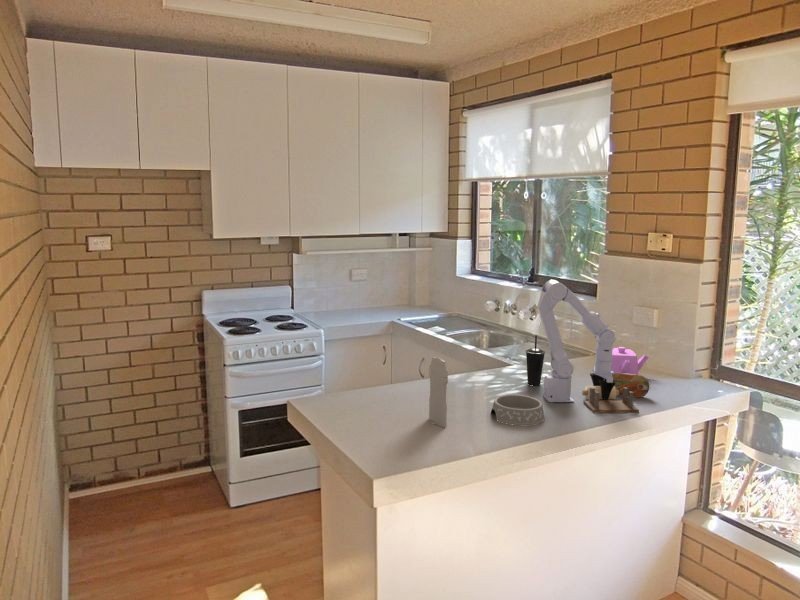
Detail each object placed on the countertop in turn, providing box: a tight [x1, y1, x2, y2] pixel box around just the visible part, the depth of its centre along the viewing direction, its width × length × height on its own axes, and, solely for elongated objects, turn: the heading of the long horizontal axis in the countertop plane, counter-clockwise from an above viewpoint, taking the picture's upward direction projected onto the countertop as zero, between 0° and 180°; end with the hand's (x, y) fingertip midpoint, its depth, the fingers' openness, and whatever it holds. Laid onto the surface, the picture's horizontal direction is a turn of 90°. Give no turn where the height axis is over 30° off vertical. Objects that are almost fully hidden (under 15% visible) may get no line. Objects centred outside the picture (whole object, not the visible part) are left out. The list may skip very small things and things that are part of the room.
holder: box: [583, 387, 640, 414], centre depth 218 cm, size 16×10×6 cm, turn 93°
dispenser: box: [428, 356, 449, 428], centre depth 200 cm, size 11×4×22 cm, turn 28°
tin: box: [612, 373, 650, 399], centre depth 232 cm, size 15×3×8 cm, turn 62°
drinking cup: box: [525, 334, 546, 387], centre depth 243 cm, size 8×8×20 cm
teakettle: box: [611, 346, 650, 375], centre depth 257 cm, size 17×17×12 cm
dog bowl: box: [490, 394, 546, 426], centre depth 209 cm, size 17×18×5 cm
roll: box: [581, 385, 620, 401], centre depth 228 cm, size 13×5×5 cm, turn 93°
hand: (601, 395), depth 227 cm, fingers open, 7 cm apart
